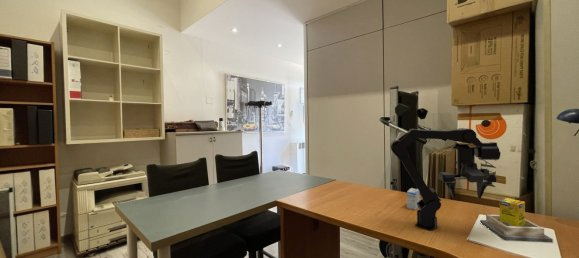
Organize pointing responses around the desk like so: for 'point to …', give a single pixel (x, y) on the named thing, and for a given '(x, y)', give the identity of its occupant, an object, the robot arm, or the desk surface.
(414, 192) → the medicine box
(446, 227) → the desk surface
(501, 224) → the board
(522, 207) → the supplement box
